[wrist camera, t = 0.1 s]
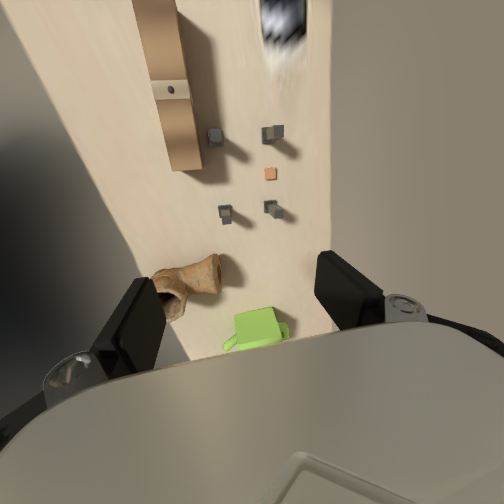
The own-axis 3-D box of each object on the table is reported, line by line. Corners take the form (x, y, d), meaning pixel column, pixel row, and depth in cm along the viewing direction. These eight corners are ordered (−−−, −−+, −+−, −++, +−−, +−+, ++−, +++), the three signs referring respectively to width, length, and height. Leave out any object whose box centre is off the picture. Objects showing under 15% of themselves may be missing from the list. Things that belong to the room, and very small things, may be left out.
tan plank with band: (142, 11, 26) (124, -27, 21) (178, 11, 27) (169, -25, 22) (178, 169, 36) (171, 171, 30) (204, 167, 36) (202, 169, 31)
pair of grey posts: (218, 205, 39) (218, 214, 34) (274, 199, 41) (285, 206, 35) (219, 217, 41) (220, 227, 35) (275, 210, 42) (284, 219, 36)
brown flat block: (264, 168, 38) (265, 168, 37) (274, 167, 38) (275, 167, 38) (265, 179, 39) (265, 179, 38) (274, 178, 39) (275, 178, 39)
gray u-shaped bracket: (207, 130, 34) (206, 125, 28) (274, 127, 35) (286, 121, 29) (209, 146, 35) (209, 144, 29) (274, 142, 36) (286, 139, 30)
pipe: (227, 277, 47) (230, 304, 39) (163, 297, 47) (151, 330, 38) (215, 245, 43) (215, 268, 34) (144, 267, 42) (126, 296, 34)
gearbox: (225, 341, 58) (227, 373, 50) (217, 318, 53) (218, 350, 45) (283, 327, 59) (294, 356, 51) (281, 303, 54) (293, 332, 46)
